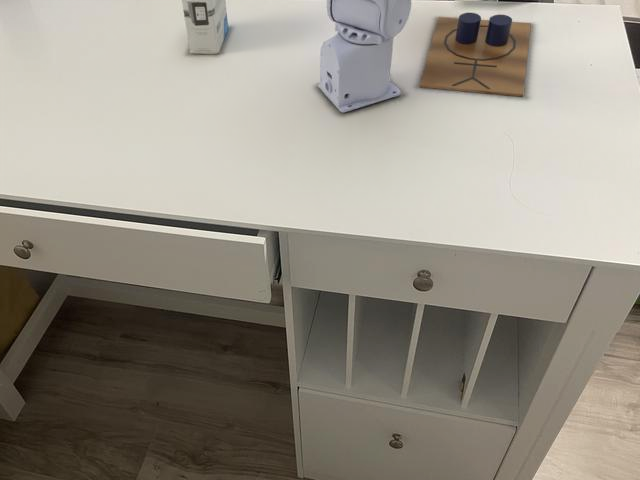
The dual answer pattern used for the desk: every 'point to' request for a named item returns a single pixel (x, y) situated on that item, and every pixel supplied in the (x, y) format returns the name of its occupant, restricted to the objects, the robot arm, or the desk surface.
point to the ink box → (205, 25)
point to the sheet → (477, 61)
